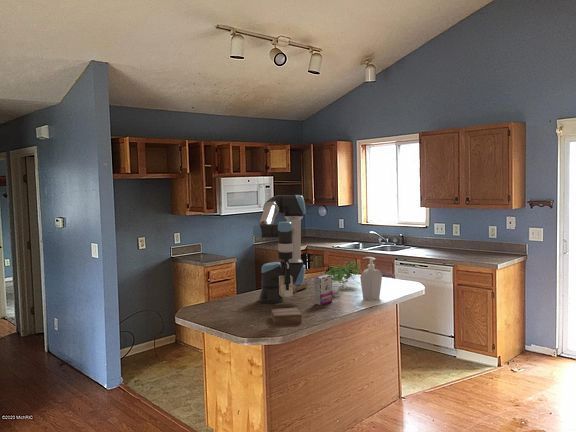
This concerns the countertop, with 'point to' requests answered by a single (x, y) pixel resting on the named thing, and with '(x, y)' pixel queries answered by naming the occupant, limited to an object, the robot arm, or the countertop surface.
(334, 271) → the plant cuttings
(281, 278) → the ash block
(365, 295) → the soap bottle
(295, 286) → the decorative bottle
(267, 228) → the robot arm
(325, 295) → the candy bar box
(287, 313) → the walnut block
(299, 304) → the countertop surface
